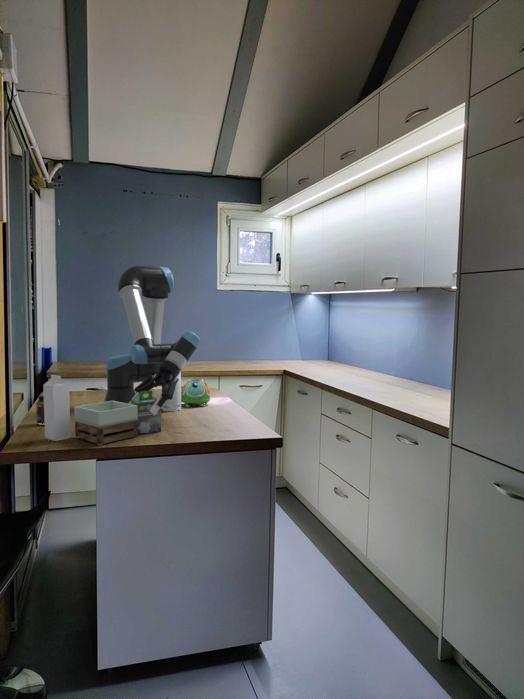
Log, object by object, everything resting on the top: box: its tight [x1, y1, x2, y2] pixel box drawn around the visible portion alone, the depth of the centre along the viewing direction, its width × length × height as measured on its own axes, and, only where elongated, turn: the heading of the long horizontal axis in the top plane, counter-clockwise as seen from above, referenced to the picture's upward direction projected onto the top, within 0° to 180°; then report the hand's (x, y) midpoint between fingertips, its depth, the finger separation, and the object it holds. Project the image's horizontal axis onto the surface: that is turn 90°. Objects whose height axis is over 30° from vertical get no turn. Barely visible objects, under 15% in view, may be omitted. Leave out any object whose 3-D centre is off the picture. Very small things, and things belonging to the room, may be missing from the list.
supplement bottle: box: [35, 394, 45, 424], centre depth 194 cm, size 6×6×11 cm
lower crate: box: [74, 420, 139, 446], centre depth 174 cm, size 15×15×6 cm
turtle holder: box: [181, 378, 211, 408], centre depth 233 cm, size 12×18×12 cm
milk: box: [42, 374, 71, 440], centre depth 171 cm, size 6×6×22 cm
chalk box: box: [131, 390, 162, 435], centre depth 184 cm, size 9×9×15 cm
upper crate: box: [74, 401, 138, 427], centre depth 173 cm, size 15×15×5 cm
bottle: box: [162, 370, 182, 412], centre depth 221 cm, size 8×8×28 cm
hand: (140, 410), depth 182 cm, fingers open, 13 cm apart
